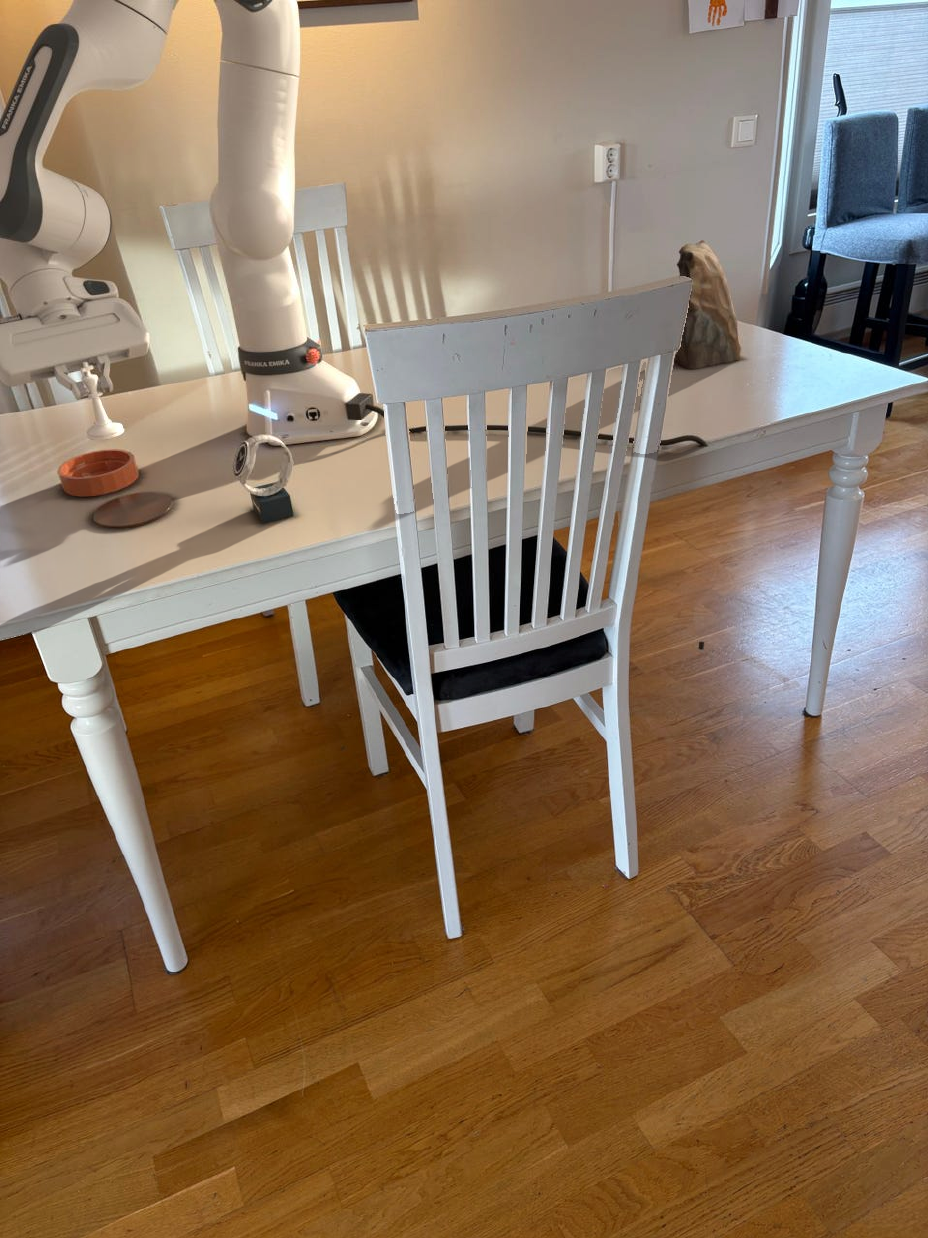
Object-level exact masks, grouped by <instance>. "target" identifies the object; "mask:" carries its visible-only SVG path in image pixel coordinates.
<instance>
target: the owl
mask: <svg viewBox="0 0 928 1238" xmlns="http://www.w3.org/2000/svg"><path fill="white" fill-rule="evenodd" d="M678 254H679V260H678V262H677V263H676V266H677V268H678V272H679V277H680V276H686V277H689V278H691V279H692V280H693V285H692V291H691V295H690V300H689V308H688V313H687V318H686V323H685V327H684V332H683V335H682V341H681V347H680V349H679V350H678V352H677V351H676V356H675V360H674V362H675V363H677V365H678V366H683V367H684V368H686V369H687V370H695V369H703V368H704V367H712V366H716V365H721V364H728V363H732V362H735V361H736V362H737V361H740V360H742V357H741V352H742V349H743V348H742V346H741V342H740V336H739V329H738V318H737V315H736V313H735V309H734V305H733V300H732V297H731V292H730V287H729V284H728V281H727V278H726V274H725V271H724V267H723V266H722V264H721V262H720V260H719V259H718V257H717V256H716V255H715V253H714V252H713V250H712V249H711V247H710V246H709V244H707V243H706V241H705V240H703V239H702V240H700V241H699V242H696V243H686V244H684V245H683V246H681V248H680V249H679V250H678Z"/></svg>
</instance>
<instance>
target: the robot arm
mask: <svg viewBox="0 0 928 1238" xmlns="http://www.w3.org/2000/svg"><path fill="white" fill-rule="evenodd" d="M179 2H180V0H72V2H71V4H70V7H69V9H68V11H67V12H66V14H65V15H64V16H63V18H62V19H60V21H59V22H58V23H52V24H49V25H47V26H46V27H45V28H44V29H42V31H41V32H40V33H39V35H38V36H37V38H36V39H35V41H34V42H33V45H32V47H31V48H30V50H29V52H28V55H27V56H26V59H25V61H24V63H23V66H22V67H21V70H20V73H19V75H18V77H17V79H16V81H15V84H14V86H13V89H12V91H11V94H10V96H9V98H8V100H7V103H6V105H5V108H4V110H3V112H2V115H1V118H0V279H1V280H2V281H3V283H5V285H6V287H7V292H8V293H7V294H8V297H9V298H10V301H11V303H12V305H13V307H14V309H15V311H16V313H17V314H13V315H8V316H5V317H1V318H0V381H1V383H2V384H4V385H6V386H8V387H10V388H13V387H18V386H19V387H20V386H23V385H26V384H30V383H35V382H39V381H44V380H47V379H51V378H55V379H56V381H57V383H58V384H59V385H61V386H62V387H64V388H65V389H67V390H68V391H71V392H72V395H73V396H74V398H75V400H76V401H80V400H84V399H89V398H88V396H87V395H88V393H89V391H88V388H87V387H86V386H85V384H84V382H83V381H82V380H81V381H76V380H75V379H73V378H71V377H70V376H69V374H71V373H76V372H77V373H78V372H81V370H80V369H81V368H84V366H83V362H87V363H88V366H89V365H93V368H97V369H98V371H99V373H102V372H103V374H102V375H101V376H97V388H98V390H99V389H100V391H101V392H102V393H103V394H108V393H112V392H114V384H113V382H112V380H111V378H110V371H111V364H113V363H119V362H122V361H127V360H131V359H135V358H139V357H144V356H145V355H147V353H148V351H149V348H150V342H151V340H150V339H151V338H150V337H151V336H150V334H149V331H148V330H147V328H146V326H145V324H144V322H143V321H142V319H141V318H140V316H139V314H138V313H137V311H135V309H134V307H132V305H131V304H130V303H129V302H128V301H126V300H125V299H123V298H121V297H119V296H120V295H119V289H118V287H117V285H116V283H114V281H111V280H105V279H91V278H85V277H84V278H83V277H77V276H74V275H73V271H77V270H80V269H82V268H83V267H84V266H86V265H87V264H89V263H90V262H92V261H93V260H94V259H95V258H96V257H98V256H99V255H100V254H102V252H103V251H104V250H106V248H107V246H108V245H109V243H110V241H111V238H112V233H113V218H112V213H111V209H110V207H109V205H108V202H107V201H106V199H105V198H104V196H103V195H102V194H101V193H100V192H99V191H97V190H95V189H93V188H91V187H89V186H87V185H86V184H83V183H81V182H78V181H76V180H74V179H72V178H70V177H67V176H63V175H61V174H59V173H57V172H55V171H52V170H50V169H48V168H46V167H44V166H43V159H44V156H45V154H46V151H47V149H48V146H49V144H50V142H51V140H52V137H53V135H54V132H55V131H56V129H57V126H58V123H59V121H60V120H61V116H62V115H63V112H64V110H65V108H66V106H67V104H68V103H69V102H70V100H72V98H74V97H75V96H76V95H78V94H80V93H82V92H86V91H93V90H100V91H126V90H131V89H134V88H137V87H139V86H141V85H143V84H145V83H146V82H147V81H149V80H150V79H151V78H152V76H153V75H154V73H155V71H156V70H157V67H158V65H159V63H160V60H161V57H162V54H163V52H164V48H165V43H166V40H167V36H168V34H169V29H170V26H171V22H172V19H173V12H174V10H175V9H176V6H177V4H178V3H179ZM213 3H214V4H215V7H216V9H217V12H218V16H219V20H220V26H221V44H220V57H219V60H220V61H219V76H218V97H217V99H218V100H217V118H216V119H217V120H216V121H217V123H216V127H217V162H218V164H217V167H218V170H217V171H218V172H217V173H218V174H217V175H218V176H217V177H218V178H217V179H218V181H217V183H216V184H215V186H214V187H213V189H212V192H211V194H210V198H209V215H210V219H211V224H212V228H213V229H212V230H213V233H214V238H215V242H216V246H217V250H218V254H219V258H220V263H221V267H222V272H223V275H224V281H225V285H226V288H227V292H228V296H229V301H230V306H231V311H232V316H233V320H234V326H235V330H236V335H237V341H238V347H237V353H238V355H237V356H238V364H239V368H240V372H241V375H242V378H243V379H242V380H243V381H244V382H245V389H246V400H247V419H246V428H245V429H246V433H247V434H248V435H249V436H251V437H253V436H257V435H270V436H274V437H276V438H278V439H279V440H281V441H282V442H283V443H284V444H285V446H286V445H294V444H304V443H310V442H311V443H312V442H320V441H327V440H328V441H329V440H336V439H337V440H338V439H347V438H353V437H360V436H362V435H363V436H364V435H365V434H367V433H368V432H370V431H371V430H372V429H373V428H374V427H375V425H376V423H377V421H378V414H379V415H380V416H381V417H382V418H383V419H384V411H385V410H384V409H383V408H381V407H378V406H375V403H374V394H373V393H366V392H365V393H364V392H361V390H360V388H359V386H358V383H357V382H356V380H355V379H354V378H353V377H352V376H350V375H348V374H346V373H344V372H343V371H340V369H338V368H336V367H334V366H333V365H331V364H329V363H328V362H326V361H324V360H323V353H322V342H321V340H320V339H318V341H317V342H316V341H314V340H313V339H311V338H309V337H308V334H307V329H306V322H305V316H304V310H303V302H302V298H301V291H300V286H299V284H298V280H297V276H296V272H295V268H294V265H293V264H294V263H293V260H292V257H291V251H290V247H289V246H290V243H291V241H292V239H293V236H294V230H295V200H296V199H295V198H296V197H295V195H296V163H295V162H296V161H295V160H296V159H295V157H296V156H295V137H296V136H295V135H296V122H297V111H298V110H297V109H298V97H299V84H300V73H301V27H300V26H301V25H300V24H301V23H300V14H299V5H298V1H297V0H213ZM103 394H102V395H103ZM468 425H469V424H459V425H458V424H455V425H444V426H445V431H444V432H461V431H464V432H465V431H469V430H468ZM486 425H487V430H486V431H497V432H500V431H501V432H504V431H505V432H509V431H508V425H509V424H507V425H505V424H486ZM426 426H427V425H423V426H418V427H412V428H408V429H409V431H410V434H419V433H424V432H426V433H427V431H426ZM546 428H547V427H544V426H530V425H529V426H528V432H527V433H540V434H547V433H546ZM581 431H582V430H574V429H565V430H564V435H563V436H567V437H568V436H569V437H577V438H581V437H580V436H581ZM613 435H614V434H607V433H599V435H598V439H597V440H602V441H611V442H613V441H612V440H613ZM629 437H630V436H629ZM634 438H635V437H630V438H629V443H628V444H633V441H634ZM660 440H661V443H660V446H659V447H667V446H671V445H676V444H680V443H684V442H694V443H697V444H698V445H699V446H701V447H709V443H708V442H707V441H706V439H704V438H702V437H700V436H698V435H694V434H685V435H681V436H675V437H673V438H668V439H660ZM266 443H268V444H269V445H270V446H274V447H275V446H276V447H277V446H281V445H280V444H277V443H275V442H266ZM704 649H705V641H698V650H700V651H702V650H703V651H704Z"/></svg>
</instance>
